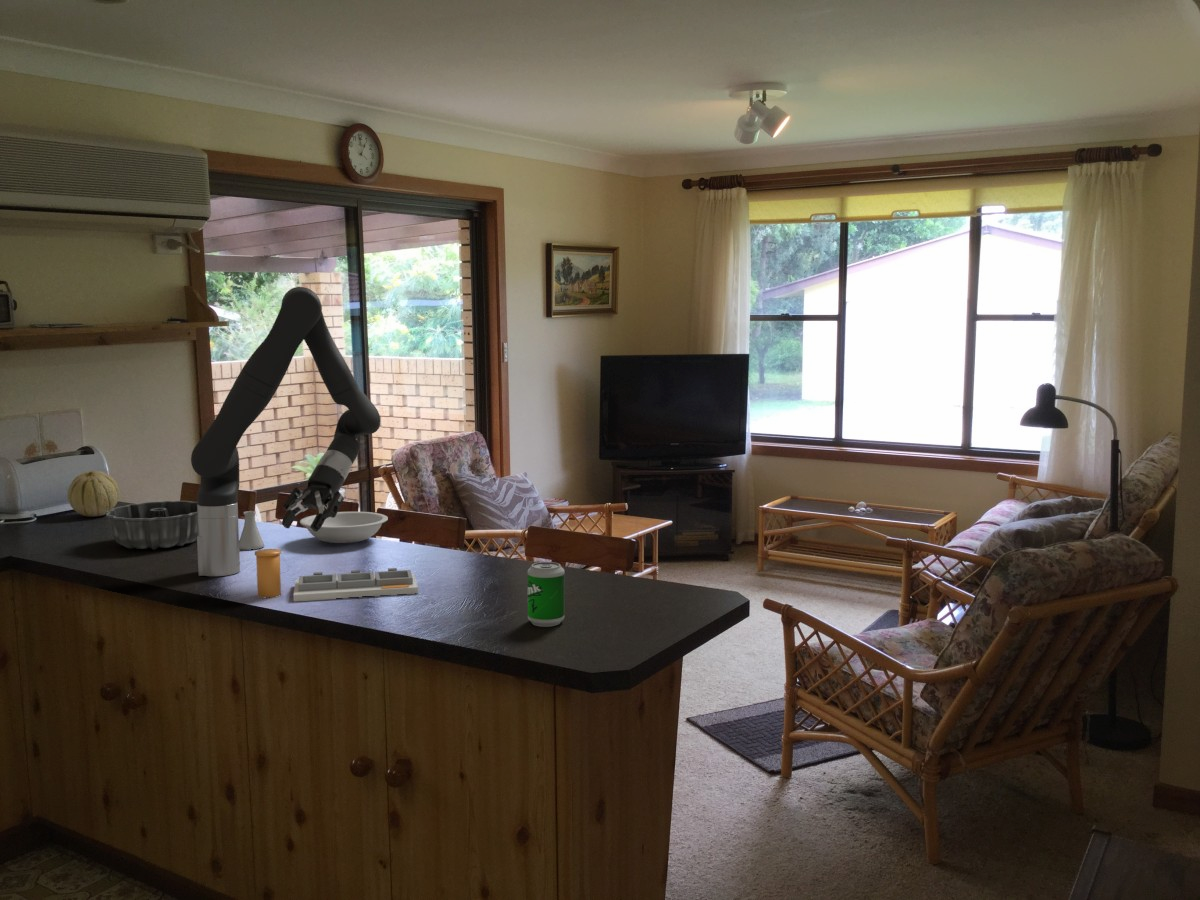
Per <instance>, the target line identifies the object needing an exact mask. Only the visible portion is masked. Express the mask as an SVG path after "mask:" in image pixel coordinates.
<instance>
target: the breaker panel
mask: <svg viewBox="0 0 1200 900" xmlns="http://www.w3.org/2000/svg"><path fill="white" fill-rule="evenodd" d="M298 577H299V578H298V579H295V583H294V589H293V602H304V601H305V602H306V601H307V602H309V601H322V600H323V601H324V600H337V599H336V598H343V599H349V598H348V597H359V598H363V597H362V596H375V597H381V596H380V595H391V596H398V595H397V594H407V595H416V594H415V593H418V594H419V586H418V582H417V580H416V577H415V573H414V572H412V570H411V569H402V570H400V569H399V570H398V569H397V567H392V568H387V570H383V571H375V572H374V571H368V572H367V571H366V572H361V569H355V570H350V573H348V572H346V573H337V574H336V573H332V574H331V573H329V574H323V572H322V571H319V572H317V571H316V572H313V574H311V575H300V576H298Z"/></svg>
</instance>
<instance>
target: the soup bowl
mask: <svg viewBox="0 0 1200 900" xmlns="http://www.w3.org/2000/svg"><path fill="white" fill-rule="evenodd" d="M316 515H317V514H313V515H310V516H309V515H308V516H305V517H304V518H301V519H300V520H299V523H300V525H301V526H304V527H306V530H307V531H308V532H309V533H310V534H311V535H312V536H313V537H314V538H316V539H317V540H319V541H321V542H325V543H328V544H329V543H330V544H352V543H358V542H361V541H365V540H368V539H370V538H371V537H373V536H374V535H375V534H376V533H378V531H379V530H380V528H381V527H382V525H383V524H384V523H386V522H387V521H388V519H389V518H388V516H387V515H385V514H384V513H383V514H382V513H377V512H371V511H338V512H337V514H336V516H335V517H334V518H332V517H328V519H325V521H324V523H323V525H322V527H321V528H320V529H319V530H318V531H317V532H315V531H313V530H312V529H311V524H312V522H313V520H314V519H315V517H316Z"/></svg>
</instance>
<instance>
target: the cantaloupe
mask: <svg viewBox="0 0 1200 900" xmlns="http://www.w3.org/2000/svg"><path fill="white" fill-rule="evenodd" d="M119 499H120V488H119V485H118V483H117V481H116V480H115V479H114V478H113V477H112V476H111V475H109V474H108V473H106V472H104V471H101V470H94V471H93V470H90V471H86V472H82V473H81V474H78V475H77V476H76V477H75V478H73V480H72V481H71V483H70V484H69V487H68V489H67V500H68V503H69V506H70V507H71V508H72V510H74V511H75V513H77V514H80V515H81V516H84V517H88V518H89V517H91V518H92V517H93V518H96V517H100V516H101V517H102V516H104V515H106V511H110V510H112V509H113V508H116V507H117V506H116V505H117V503H118V501H119Z"/></svg>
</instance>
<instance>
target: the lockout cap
mask: <svg viewBox="0 0 1200 900" xmlns="http://www.w3.org/2000/svg"><path fill="white" fill-rule="evenodd" d="M281 554H282V550H281V549H277V548H265V549H263V548H262V549H257V550H255V551H254V556H255V557H256V558H255V559H256V560H255V561H256V563H255V564H256V584H257V585H256V588H257V597H258V596H259V597H258V598H260V597H267V598H266V599H270V598H269V597H274V598H277V597H276V596H278V597H280V596H281V595H282V582H281V580H282V579H281V556H280V555H281ZM279 595H280V596H279Z"/></svg>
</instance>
